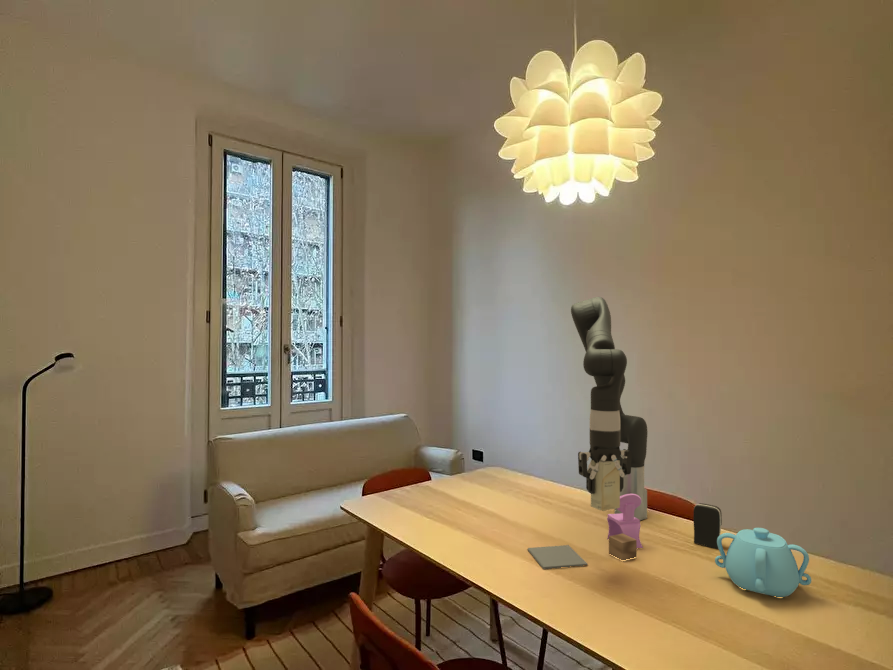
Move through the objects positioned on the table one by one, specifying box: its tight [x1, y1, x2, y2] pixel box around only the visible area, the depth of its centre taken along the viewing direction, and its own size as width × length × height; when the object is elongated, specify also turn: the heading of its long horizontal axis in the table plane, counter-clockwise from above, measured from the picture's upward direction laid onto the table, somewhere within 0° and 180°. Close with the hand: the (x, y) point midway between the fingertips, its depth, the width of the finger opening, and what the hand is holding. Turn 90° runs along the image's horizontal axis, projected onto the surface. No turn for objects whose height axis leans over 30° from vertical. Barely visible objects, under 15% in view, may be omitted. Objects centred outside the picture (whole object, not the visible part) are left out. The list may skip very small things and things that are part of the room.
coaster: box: [527, 544, 589, 570], centre depth 137 cm, size 12×12×1 cm
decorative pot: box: [714, 527, 812, 598], centre depth 122 cm, size 16×16×14 cm
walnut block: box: [608, 533, 638, 560], centre depth 139 cm, size 5×5×5 cm
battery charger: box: [693, 502, 723, 550], centre depth 146 cm, size 7×4×11 cm, turn 49°
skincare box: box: [590, 459, 620, 512], centre depth 131 cm, size 6×4×12 cm
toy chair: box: [606, 494, 644, 549], centre depth 147 cm, size 8×9×15 cm
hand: (604, 491), depth 131 cm, fingers closed on skincare box, 7 cm apart
